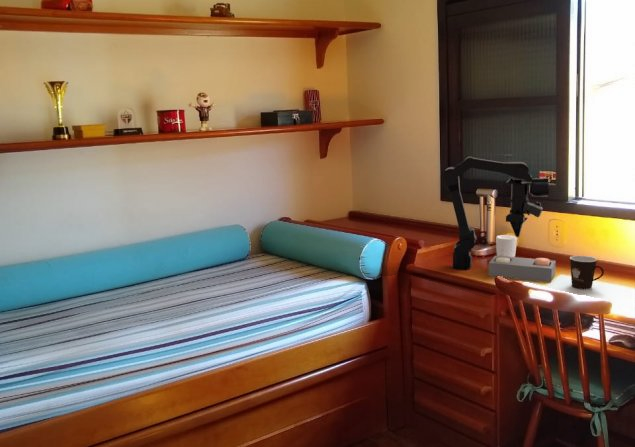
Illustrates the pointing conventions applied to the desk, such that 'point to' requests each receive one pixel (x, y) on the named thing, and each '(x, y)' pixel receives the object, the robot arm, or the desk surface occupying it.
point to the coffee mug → (583, 271)
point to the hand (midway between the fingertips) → (517, 236)
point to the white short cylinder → (503, 259)
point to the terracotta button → (542, 261)
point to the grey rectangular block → (522, 269)
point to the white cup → (506, 245)
